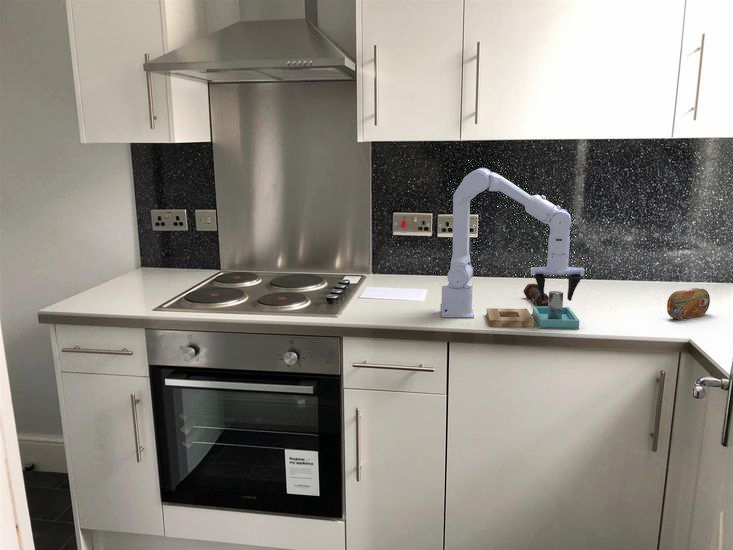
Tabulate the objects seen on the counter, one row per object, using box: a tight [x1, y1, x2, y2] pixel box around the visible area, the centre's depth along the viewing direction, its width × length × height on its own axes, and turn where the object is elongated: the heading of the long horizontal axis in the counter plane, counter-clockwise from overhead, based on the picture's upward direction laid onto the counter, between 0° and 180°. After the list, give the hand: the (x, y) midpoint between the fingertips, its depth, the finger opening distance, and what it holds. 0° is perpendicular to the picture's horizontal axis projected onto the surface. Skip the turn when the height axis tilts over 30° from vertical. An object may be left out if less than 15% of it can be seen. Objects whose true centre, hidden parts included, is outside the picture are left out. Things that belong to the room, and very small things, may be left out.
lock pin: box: [548, 290, 564, 319], centre depth 179 cm, size 4×4×8 cm
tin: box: [666, 287, 711, 321], centre depth 181 cm, size 15×3×8 cm, turn 114°
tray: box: [531, 306, 580, 330], centre depth 180 cm, size 11×14×2 cm
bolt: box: [523, 283, 549, 307], centre depth 198 cm, size 6×5×15 cm
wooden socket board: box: [486, 307, 534, 329], centre depth 181 cm, size 12×12×2 cm
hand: (555, 299), depth 179 cm, fingers open, 7 cm apart
